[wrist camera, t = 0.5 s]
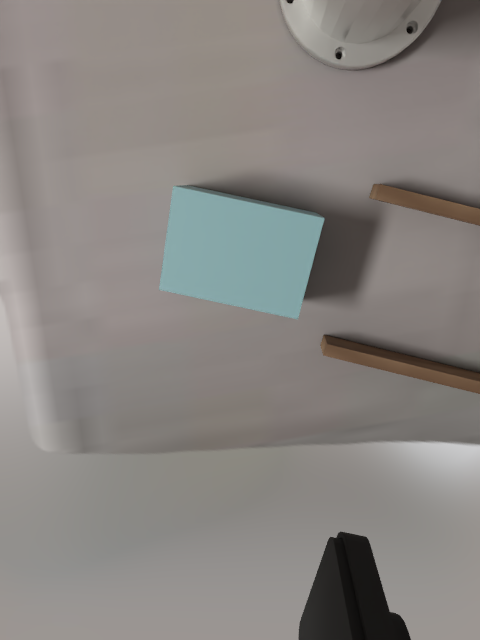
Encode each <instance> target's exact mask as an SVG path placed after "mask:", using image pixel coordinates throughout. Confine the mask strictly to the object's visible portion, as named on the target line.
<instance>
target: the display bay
mask: <svg viewBox="0 0 480 640" xmlns="http://www.w3.org/2000/svg"><path fill="white" fill-rule="evenodd" d="M369 198H371V199H375V200H379V201H383V202H387V203H391V204H395V205H399V206H403V207H407V208H411V209H415V210H419V211H423V212H427V213H431V214H435V215H439V216H443V217H447V218H451V219H455V220H459V221H463V222H467V223H471V224H475V225H479V226H480V209H478V208H474V207H470V206H466V205H462V204H458V203H454V202H450V201H446V200H442V199H438V198H434V197H430V196H426V195H422V194H418V193H414V192H410V191H406V190H402V189H398V188H394V187H390V186H386V185H382V184H374V185H373V188H372V191H371V194H370V197H369ZM320 346H321V349H322V352H323V355H324V356H328V357H332V358H336V359H340V360H344V361H348V362H352V363H356V364H361V365H365V366H369V367H373V368H377V369H381V370H385V371H389V372H393V373H397V374H401V375H405V376H409V377H413V378H417V379H422V380H426V381H430V382H434V383H438V384H442V385H446V386H450V387H454V388H458V389H462V390H466V391H470V392H474V393H478V394H480V373H478V372H473V371H469V370H465V369H461V368H457V367H453V366H449V365H445V364H441V363H437V362H433V361H429V360H425V359H421V358H417V357H413V356H409V355H404V354H400V353H396V352H392V351H388V350H384V349H380V348H376V347H372V346H368V345H364V344H360V343H356V342H352V341H348V340H344V339H340V338H335V337H331V336H327V335H324V336H323V339H322V342H321V345H320Z"/></svg>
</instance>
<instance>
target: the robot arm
mask: <svg viewBox="0 0 480 640" xmlns="http://www.w3.org/2000/svg"><path fill="white" fill-rule="evenodd" d="M279 2H280V6H281V10H282V13H283V17H284V20H285V22H286V24H287V26H288V28H289V30H290V32H291V34H292V36H293V37H294V38H295V40H296V41H297V42H298V44H299V45H300V47H302V48H303V49H304V50H305V51H306V52H307V53H308V54H309V55H310V56H311V57H313V58H315V59H316V60H318V61H320V62H322V63H323V64H325V65H329V66H332V67H335V68H338V69H349V70H357V69H364V68H370V67H373V66H376V65H379V64H382V63H384V62H386V61H388V60H389V59H391V58H393V57H395V56H396V55H398V54H399V53H401V52H402V51H403V50H404V49H405V48H406V47H408V46H409V45H410V44H411V43H412V42H413V41H414V40H415V39H416V38H417V37H418V36H419V35H420V34H421V33H422V32H423V30H424V29H425V27H426V26H427V25H428V23H429V22H430V21H431V19H432V18H433V16H434V14H435V12H436V10H437V8H438V6H439V4H440V2H441V0H293V3H291V4H289V3H287V0H279ZM407 28H410V29H411V34H409V33H407V31H406V29H407ZM337 53H340V54H341V59H337V58H336V54H337ZM299 640H411V639H410V636H409V633H408V630H407V627H406V625H405V622H404V620H403V619H402V618H401V616H400V615H398V614H396V613H391V612H389V608H388V605H387V601H386V598H385V595H384V592H383V588H382V584H381V581H380V577H379V574H378V570H377V567H376V563H375V560H374V557H373V553H372V550H371V546H370V543H369V540H368V539H367V537H364V536H359V535H355V534H350V533H345V532H340V533H338V535H337V538H333V537H330V538H329V540H328V542H327V545H326V548H325V551H324V554H323V557H322V560H321V563H320V566H319V569H318V571H317V574H316V577H315V580H314V583H313V586H312V589H311V591H310V595H309V597H308V600H307V603H306V606H305V609H304V612H303V615H302V617H301V621H300V626H299Z"/></svg>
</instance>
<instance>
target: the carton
mask: <svg viewBox="0 0 480 640" xmlns="http://www.w3.org/2000/svg"><path fill="white" fill-rule="evenodd" d="M324 219H325V218H324V217H322V216H321V215H319V214H318V213H315V212H311V211H306V210H301V209H296V208H292V207H287V206H282V205H278V204H273V203H268V202H264V201H259V200H254V199H250V198H245V197H240V196H236V195H231V194H226V193H221V192H217V191H212V190H207V189H203V188H198V187H193V186H189V185H183V186H173V192H172V199H171V206H170V214H169V221H168V228H167V236H166V243H165V250H164V258H163V265H162V272H161V280H160V287H159V290H163V291H167V292H172V293H177V294H181V295H186V296H191V297H196V298H200V299H205V300H210V301H214V302H219V303H224V304H228V305H233V306H238V307H242V308H247V309H252V310H256V311H261V312H266V313H270V314H275V315H280V316H285V317H289V318H294V319H298V317H299V313H300V309H301V305H302V302H303V298H304V294H305V290H306V286H307V283H308V279H309V275H310V271H311V268H312V264H313V260H314V256H315V252H316V249H317V245H318V241H319V237H320V234H321V230H322V226H323V222H324Z"/></svg>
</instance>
